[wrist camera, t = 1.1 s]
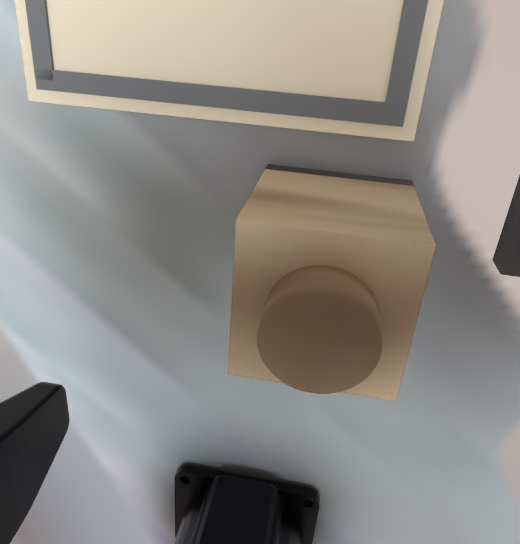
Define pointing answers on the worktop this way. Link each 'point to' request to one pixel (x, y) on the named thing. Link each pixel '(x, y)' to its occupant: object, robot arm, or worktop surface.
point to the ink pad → (510, 240)
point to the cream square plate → (237, 60)
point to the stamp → (328, 281)
